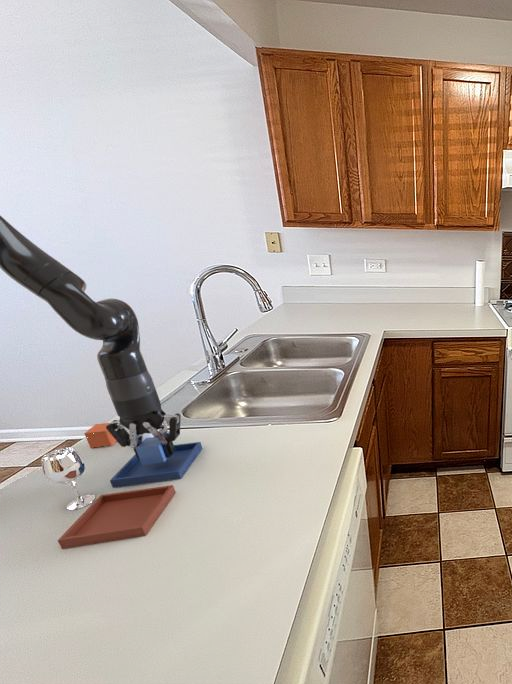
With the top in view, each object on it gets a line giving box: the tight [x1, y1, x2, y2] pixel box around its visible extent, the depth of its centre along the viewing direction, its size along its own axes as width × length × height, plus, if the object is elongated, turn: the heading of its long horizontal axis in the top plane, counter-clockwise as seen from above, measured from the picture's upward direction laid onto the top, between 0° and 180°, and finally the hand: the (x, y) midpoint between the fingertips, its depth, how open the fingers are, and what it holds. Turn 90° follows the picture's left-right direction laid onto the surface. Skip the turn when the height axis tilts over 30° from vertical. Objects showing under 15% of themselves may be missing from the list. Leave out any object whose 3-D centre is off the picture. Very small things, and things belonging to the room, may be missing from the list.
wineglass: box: [40, 446, 97, 511], centre depth 80 cm, size 6×6×12 cm
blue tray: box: [109, 441, 203, 489], centre depth 93 cm, size 13×12×2 cm
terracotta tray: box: [57, 484, 177, 550], centre depth 78 cm, size 13×12×2 cm
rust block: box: [84, 422, 117, 449], centre depth 102 cm, size 4×4×4 cm
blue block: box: [136, 437, 167, 465], centre depth 92 cm, size 4×4×4 cm
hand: (157, 456), depth 92 cm, fingers closed on blue block, 4 cm apart
